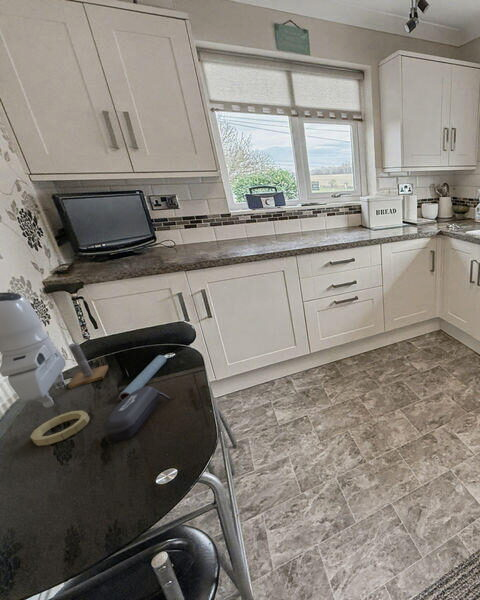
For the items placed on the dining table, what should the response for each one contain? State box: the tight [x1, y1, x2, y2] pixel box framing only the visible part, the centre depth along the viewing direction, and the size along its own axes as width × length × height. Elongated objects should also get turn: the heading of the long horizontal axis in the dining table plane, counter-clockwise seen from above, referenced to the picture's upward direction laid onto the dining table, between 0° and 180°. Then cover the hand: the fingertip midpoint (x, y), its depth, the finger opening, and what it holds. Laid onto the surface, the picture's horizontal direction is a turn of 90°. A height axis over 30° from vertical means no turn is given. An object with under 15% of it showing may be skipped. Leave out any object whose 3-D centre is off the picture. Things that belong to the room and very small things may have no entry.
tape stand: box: [67, 342, 109, 389], centre depth 111 cm, size 9×9×14 cm
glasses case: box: [103, 385, 171, 442], centre depth 89 cm, size 18×10×8 cm, turn 13°
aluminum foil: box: [118, 354, 167, 401], centre depth 108 cm, size 23×7×3 cm, turn 11°
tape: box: [29, 409, 90, 447], centre depth 88 cm, size 11×11×2 cm
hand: (56, 396), depth 89 cm, fingers open, 8 cm apart
